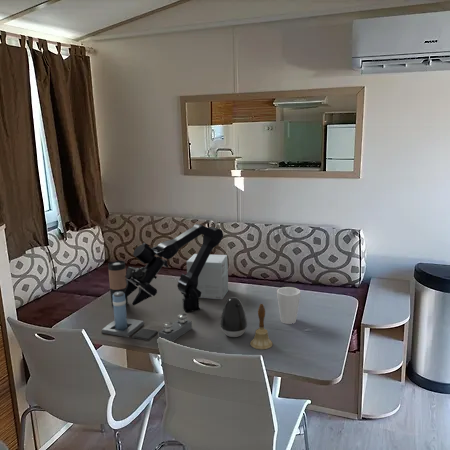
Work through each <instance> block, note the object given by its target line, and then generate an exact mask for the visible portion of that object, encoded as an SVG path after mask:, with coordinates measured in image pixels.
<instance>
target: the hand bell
mask: <svg viewBox="0 0 450 450" xmlns="http://www.w3.org/2000/svg"><path fill="white" fill-rule="evenodd" d="M257 316H258V320H259V323H258V324H259V325H258V326H259V327H258V329H257V328H256V329H255V333H254V337H253V339H252V340H251V341H250V343H249V344H250V346H251V347H252V348H254V349H256V350H260V351H261V350H262V351H263V350H268V349H271V348H272V347H273V342H272V340H271V339H270V337H269V332H268V329H266V328H265V324H264V323H265V322H264V321H265V317H266V309H265V306H264V303H259V307H258V309H257Z"/></svg>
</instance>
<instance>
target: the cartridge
mask: <svg viewBox="0 0 450 450" xmlns="http://www.w3.org/2000/svg"><path fill="white" fill-rule="evenodd" d="M112 308H113V316H114V317H113V318H114V320H115V330H121V331H124V330H126V329H127V328H128V327H127V319H128V318H127V317H128V316H127V305H126V299H125V294H124V292H115V293H114V294H113V306H112ZM114 320H113V321H114Z"/></svg>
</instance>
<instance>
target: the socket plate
mask: <svg viewBox="0 0 450 450" xmlns="http://www.w3.org/2000/svg"><path fill="white" fill-rule="evenodd" d="M144 324H145V322H144V320H140V319H133V318H127V329H126V330H124V331H121V330H115V320H113V321H111V322H109V323H108V324H107V325H105V326H104V327H103V328H101V334H108V335H112V336H113V335H114V336H118V337H125V338H129V337H130V336H131V335H134V334H135V333H136V331H137V330H140V329H141V328H142V326H144Z"/></svg>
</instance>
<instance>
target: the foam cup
mask: <svg viewBox="0 0 450 450" xmlns="http://www.w3.org/2000/svg"><path fill="white" fill-rule="evenodd" d="M276 297H277V302H278V311H279V319H280V323H283V324H285V325H293V324H295V323H296V322H297V318H298V312H299V306H300V305H299V304H300V299H301V290H300V289H299V288H296V287H293V286H285V287H280V288H278V289H277V290H276ZM292 323H293V324H292Z"/></svg>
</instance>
